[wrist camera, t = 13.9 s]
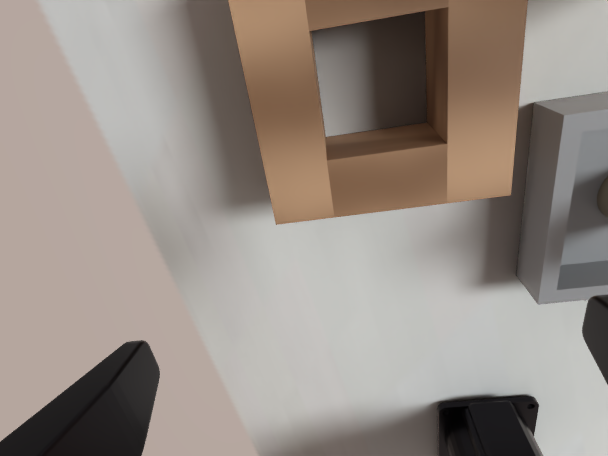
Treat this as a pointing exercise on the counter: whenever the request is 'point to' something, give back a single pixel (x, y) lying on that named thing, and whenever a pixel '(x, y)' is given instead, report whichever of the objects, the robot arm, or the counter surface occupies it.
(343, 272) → the counter surface
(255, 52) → the brown square frame
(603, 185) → the beige wooden peg
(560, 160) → the gray square tray
